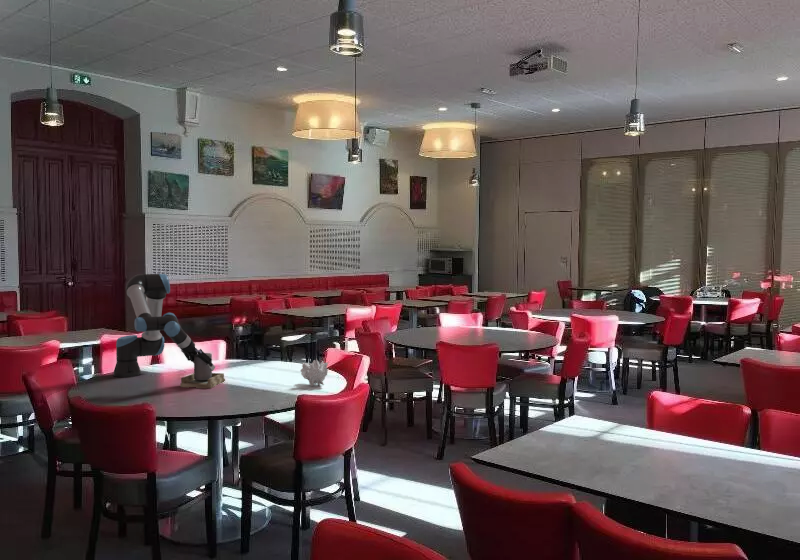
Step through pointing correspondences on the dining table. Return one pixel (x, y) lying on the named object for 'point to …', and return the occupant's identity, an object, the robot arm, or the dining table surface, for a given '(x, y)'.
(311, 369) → the grey spiky coral
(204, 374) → the pillar candle
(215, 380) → the wooden tray
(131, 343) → the robot arm
